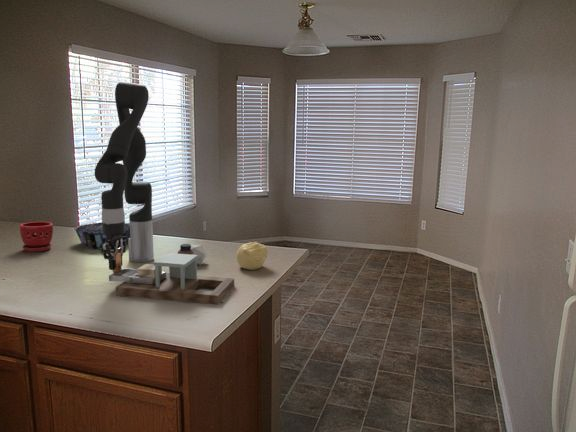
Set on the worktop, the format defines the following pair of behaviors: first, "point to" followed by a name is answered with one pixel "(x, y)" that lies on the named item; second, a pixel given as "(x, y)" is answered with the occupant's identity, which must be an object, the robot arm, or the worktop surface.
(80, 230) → the decorative bowl
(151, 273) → the block
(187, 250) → the supplement bottle
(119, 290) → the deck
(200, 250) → the die
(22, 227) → the plant pot
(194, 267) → the tunnel
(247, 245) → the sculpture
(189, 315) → the worktop surface
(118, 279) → the slider
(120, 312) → the worktop surface
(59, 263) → the worktop surface
